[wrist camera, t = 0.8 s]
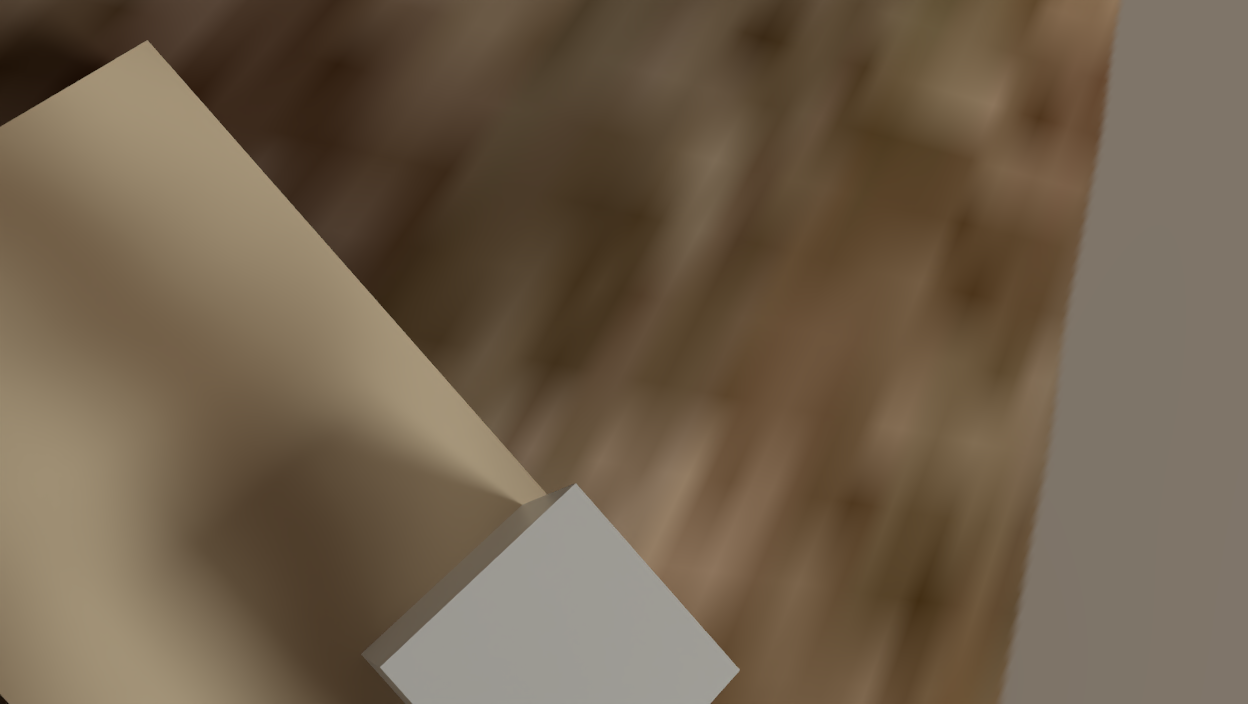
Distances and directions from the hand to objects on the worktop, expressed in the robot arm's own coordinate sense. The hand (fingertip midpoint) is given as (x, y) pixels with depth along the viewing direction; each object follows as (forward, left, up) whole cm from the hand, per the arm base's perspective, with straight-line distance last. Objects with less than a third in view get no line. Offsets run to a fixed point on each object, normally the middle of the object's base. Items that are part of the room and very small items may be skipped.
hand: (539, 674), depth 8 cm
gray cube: (+1, -2, -12) cm, 12 cm away
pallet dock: (-1, +4, -14) cm, 15 cm away
